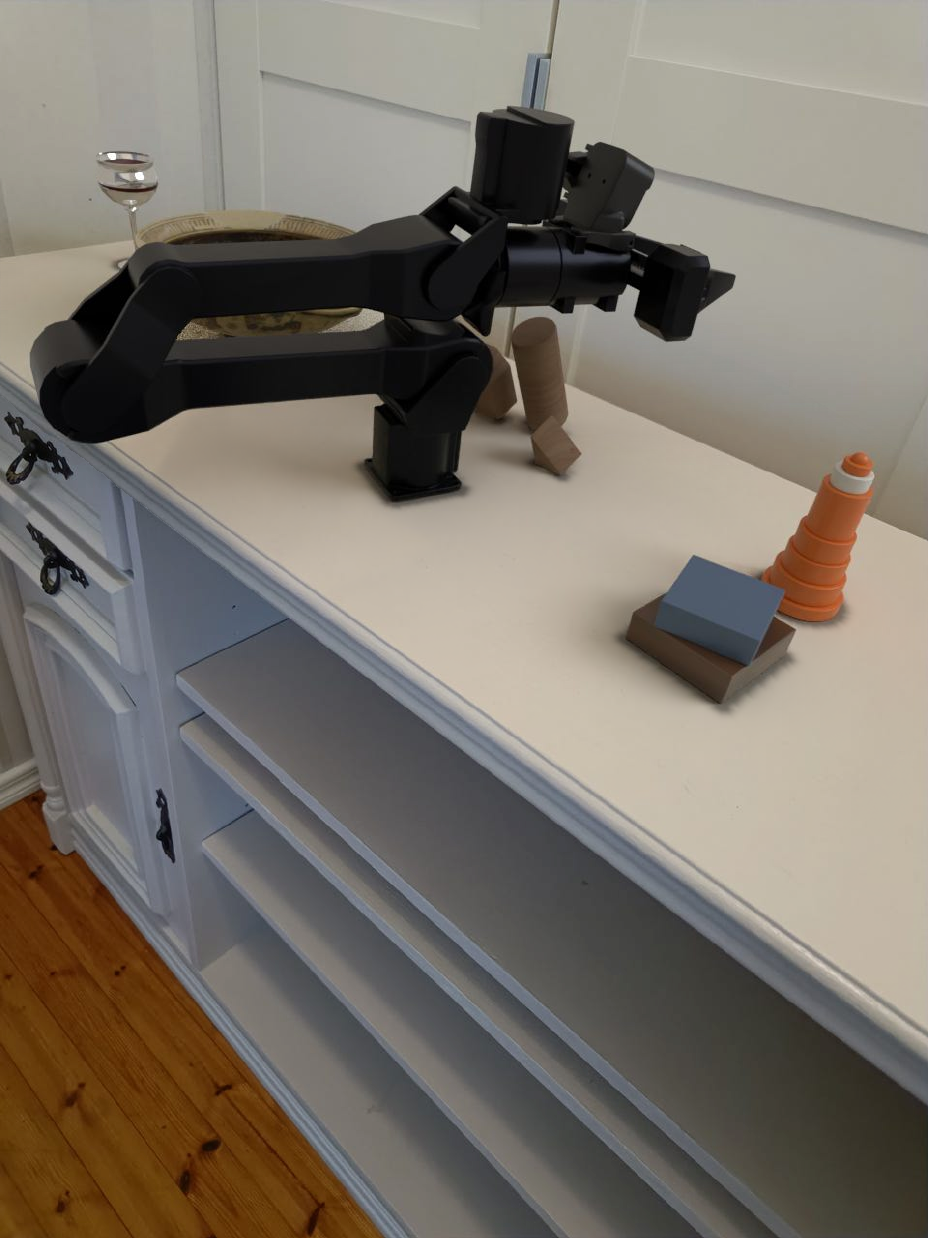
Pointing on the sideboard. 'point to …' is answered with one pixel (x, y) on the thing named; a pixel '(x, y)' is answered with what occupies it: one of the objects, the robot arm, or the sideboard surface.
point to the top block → (719, 609)
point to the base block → (706, 654)
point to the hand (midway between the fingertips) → (697, 264)
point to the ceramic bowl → (252, 229)
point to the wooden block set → (534, 391)
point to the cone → (823, 543)
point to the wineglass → (127, 181)
